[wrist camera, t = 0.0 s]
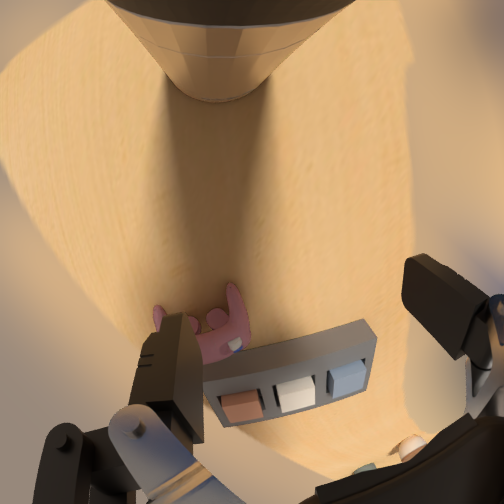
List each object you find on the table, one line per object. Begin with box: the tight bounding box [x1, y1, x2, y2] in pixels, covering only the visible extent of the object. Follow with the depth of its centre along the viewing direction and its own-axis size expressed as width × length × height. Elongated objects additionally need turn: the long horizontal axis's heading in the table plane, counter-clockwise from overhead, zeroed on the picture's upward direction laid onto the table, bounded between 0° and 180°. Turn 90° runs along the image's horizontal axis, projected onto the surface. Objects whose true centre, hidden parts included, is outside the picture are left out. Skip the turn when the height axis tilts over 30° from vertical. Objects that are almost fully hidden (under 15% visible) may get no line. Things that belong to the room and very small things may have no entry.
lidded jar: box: [399, 435, 427, 463], centre depth 61 cm, size 11×11×9 cm
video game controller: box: [153, 283, 251, 365], centre depth 27 cm, size 10×5×7 cm, turn 106°
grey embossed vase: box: [354, 463, 377, 474], centre depth 66 cm, size 10×10×12 cm
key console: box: [203, 319, 377, 428], centre depth 33 cm, size 12×22×4 cm, turn 100°
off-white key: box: [276, 376, 315, 413], centre depth 31 cm, size 4×4×2 cm
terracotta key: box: [221, 389, 264, 423], centre depth 31 cm, size 4×4×2 cm
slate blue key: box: [327, 360, 367, 399], centre depth 32 cm, size 4×4×2 cm
